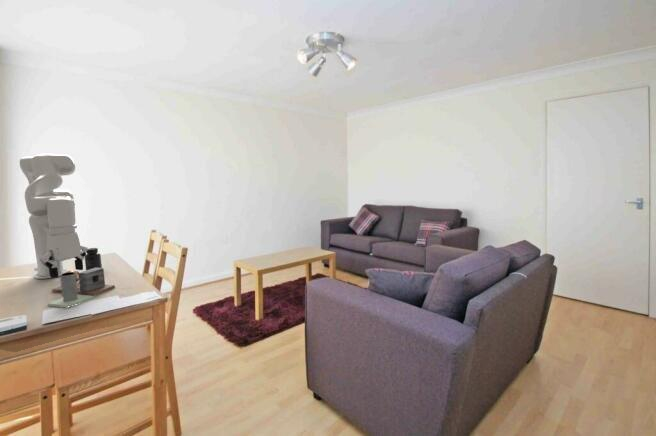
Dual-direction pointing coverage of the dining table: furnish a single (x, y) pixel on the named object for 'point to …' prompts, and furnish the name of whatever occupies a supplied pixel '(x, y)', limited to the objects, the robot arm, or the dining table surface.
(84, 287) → the shaft stand
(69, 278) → the grey open cylinder
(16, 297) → the dining table surface
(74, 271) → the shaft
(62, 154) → the robot arm
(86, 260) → the supplement bottle
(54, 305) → the tile
